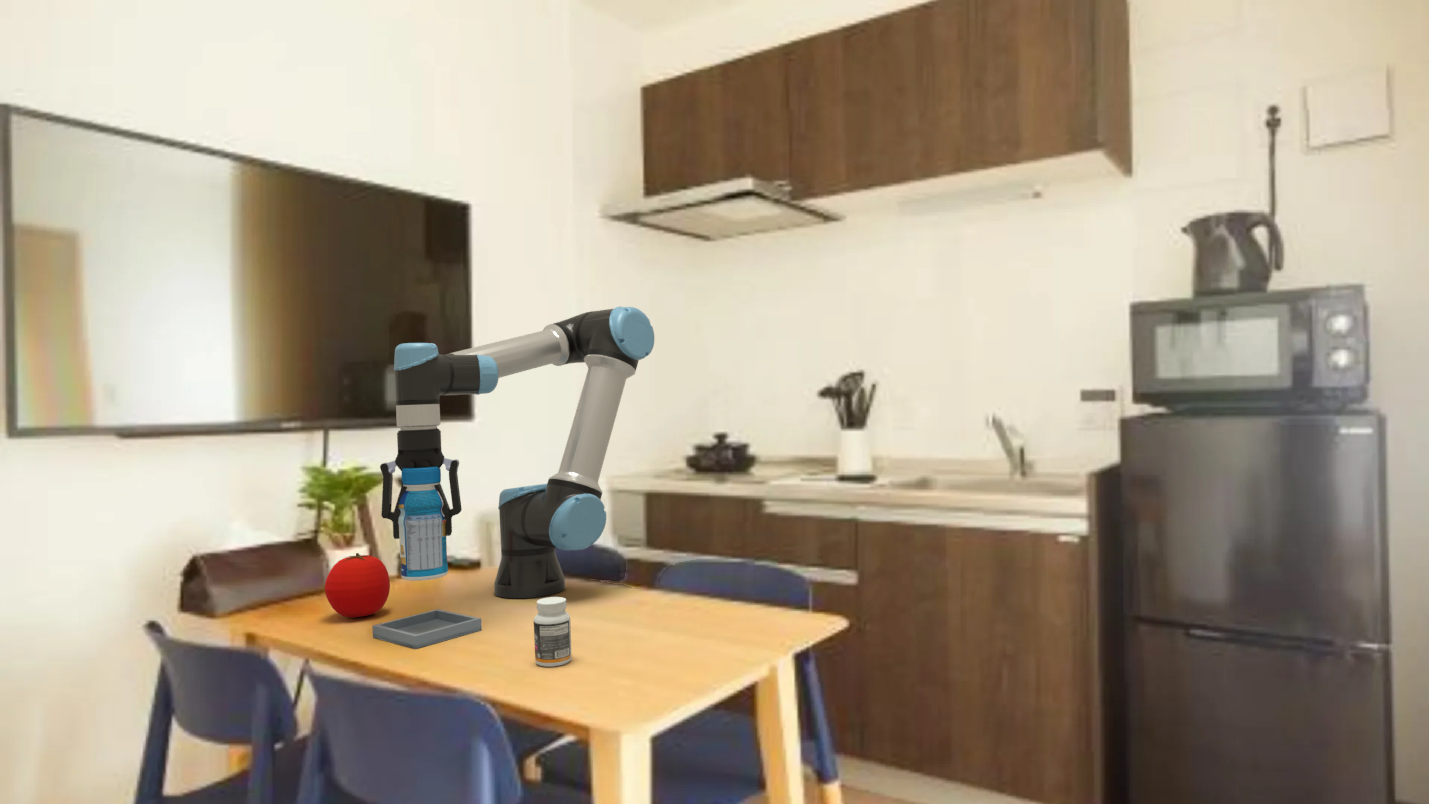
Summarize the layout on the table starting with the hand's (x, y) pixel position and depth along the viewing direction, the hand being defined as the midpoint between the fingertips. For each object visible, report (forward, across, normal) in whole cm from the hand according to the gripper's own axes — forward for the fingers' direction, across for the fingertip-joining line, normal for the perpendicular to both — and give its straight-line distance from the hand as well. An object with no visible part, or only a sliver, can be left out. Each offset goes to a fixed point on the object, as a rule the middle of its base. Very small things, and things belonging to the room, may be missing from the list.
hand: (423, 555), depth 159 cm
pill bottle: (+15, -23, +24) cm, 36 cm away
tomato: (+15, +16, -18) cm, 28 cm away
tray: (+14, 0, 0) cm, 14 cm away
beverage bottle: (+4, 0, 0) cm, 4 cm away
